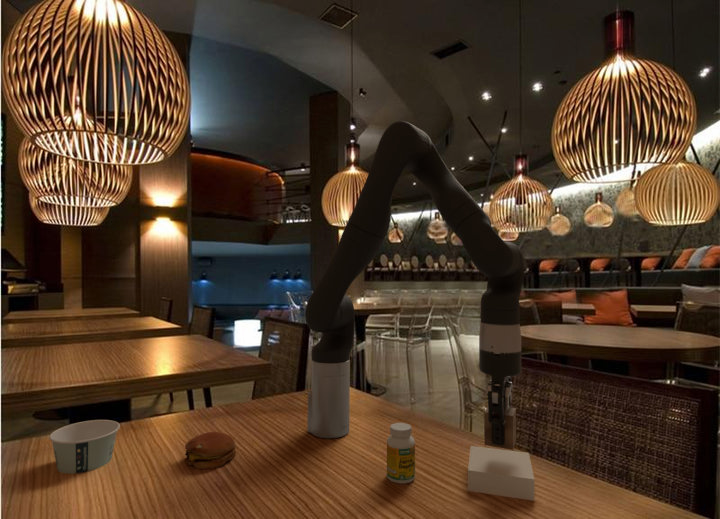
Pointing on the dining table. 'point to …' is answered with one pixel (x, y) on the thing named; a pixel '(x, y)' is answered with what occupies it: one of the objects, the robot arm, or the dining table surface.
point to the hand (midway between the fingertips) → (500, 438)
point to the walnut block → (509, 429)
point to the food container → (84, 445)
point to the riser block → (500, 473)
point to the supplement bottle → (400, 454)
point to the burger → (210, 450)
